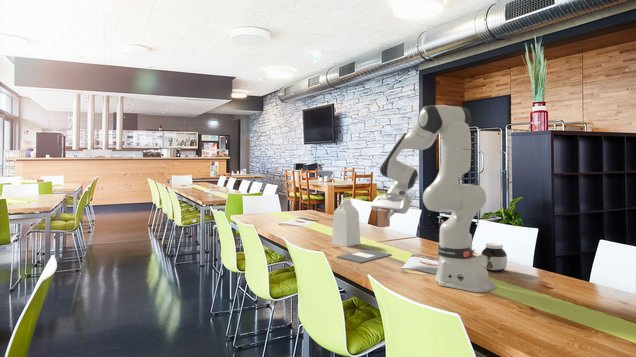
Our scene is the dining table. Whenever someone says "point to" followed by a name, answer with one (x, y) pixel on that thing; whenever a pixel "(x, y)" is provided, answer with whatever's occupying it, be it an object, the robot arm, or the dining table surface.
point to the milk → (346, 225)
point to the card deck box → (383, 218)
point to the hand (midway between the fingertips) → (382, 217)
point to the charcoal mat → (364, 256)
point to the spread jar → (493, 257)
